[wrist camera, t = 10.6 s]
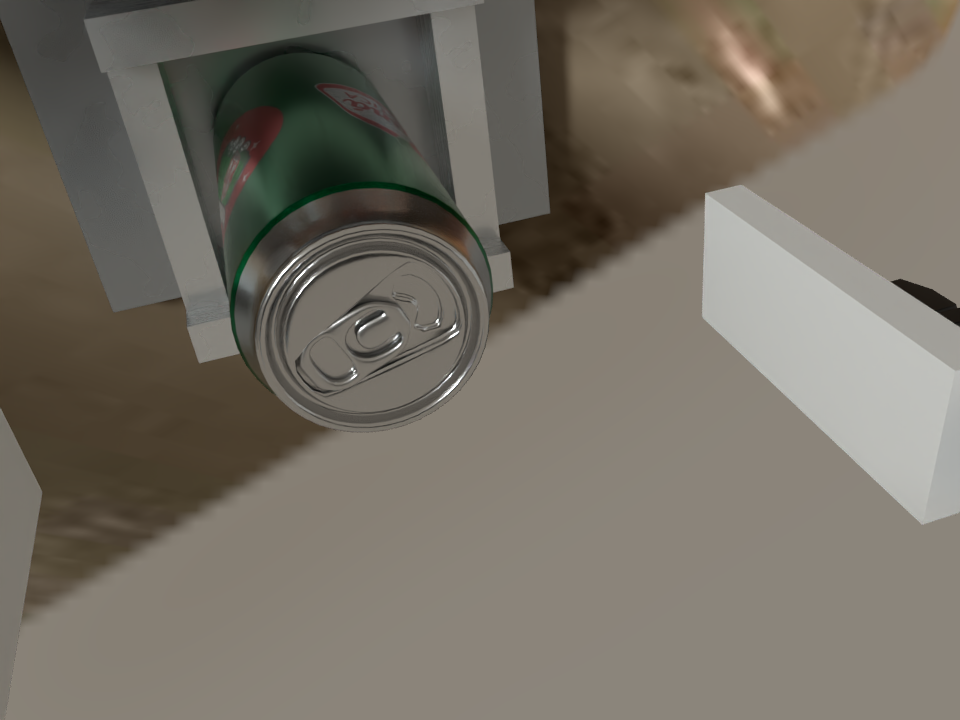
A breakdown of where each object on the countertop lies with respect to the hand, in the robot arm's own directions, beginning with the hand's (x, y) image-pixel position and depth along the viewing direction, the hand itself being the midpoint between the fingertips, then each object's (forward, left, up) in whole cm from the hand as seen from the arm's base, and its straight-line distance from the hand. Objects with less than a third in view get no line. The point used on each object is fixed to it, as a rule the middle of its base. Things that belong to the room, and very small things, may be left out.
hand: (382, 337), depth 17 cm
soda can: (0, 0, -12) cm, 12 cm away
